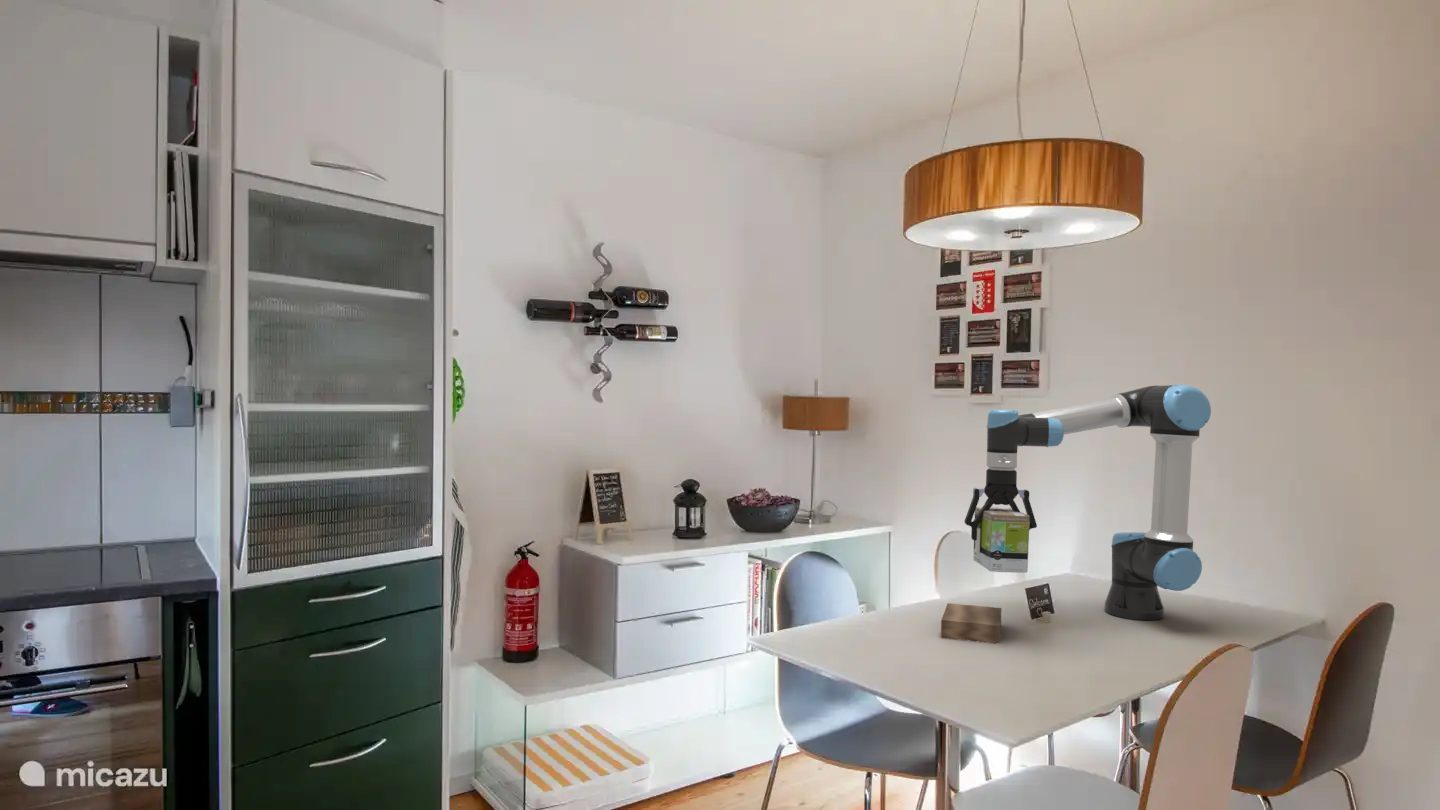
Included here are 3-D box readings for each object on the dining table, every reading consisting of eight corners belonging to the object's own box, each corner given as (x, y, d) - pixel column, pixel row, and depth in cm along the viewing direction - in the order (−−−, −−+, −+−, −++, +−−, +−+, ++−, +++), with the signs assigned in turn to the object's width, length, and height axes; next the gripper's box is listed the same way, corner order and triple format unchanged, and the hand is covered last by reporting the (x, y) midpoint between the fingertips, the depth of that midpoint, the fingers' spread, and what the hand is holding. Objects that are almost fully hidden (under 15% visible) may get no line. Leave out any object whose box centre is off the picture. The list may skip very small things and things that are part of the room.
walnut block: (1001, 626, 225) (1001, 608, 224) (999, 645, 208) (999, 625, 208) (947, 621, 229) (947, 603, 229) (941, 639, 213) (941, 619, 212)
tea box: (1029, 573, 209) (1030, 514, 209) (989, 572, 209) (990, 513, 209) (1009, 561, 224) (1011, 506, 224) (972, 560, 224) (973, 505, 224)
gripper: (958, 468, 215) (956, 554, 215) (1051, 471, 211) (1049, 558, 212) (954, 466, 222) (952, 549, 222) (1044, 469, 219) (1042, 553, 219)
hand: (999, 553), depth 217 cm, fingers closed on tea box, 10 cm apart
